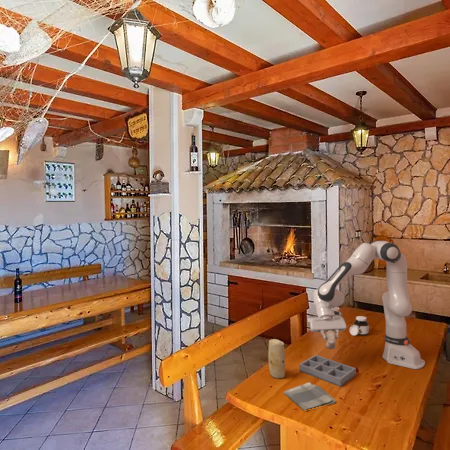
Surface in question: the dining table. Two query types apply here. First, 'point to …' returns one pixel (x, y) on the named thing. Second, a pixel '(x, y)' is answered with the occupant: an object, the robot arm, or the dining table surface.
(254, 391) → the dining table surface
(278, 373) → the food model
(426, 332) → the dining table surface
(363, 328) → the spread jar
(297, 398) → the dish towel
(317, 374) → the gray compartment tray
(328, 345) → the egg
